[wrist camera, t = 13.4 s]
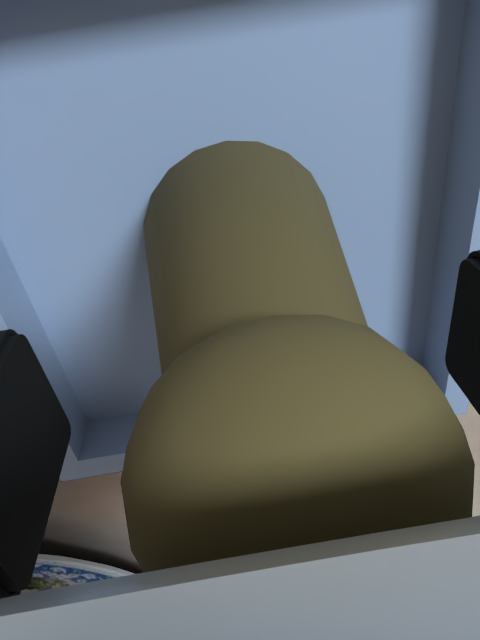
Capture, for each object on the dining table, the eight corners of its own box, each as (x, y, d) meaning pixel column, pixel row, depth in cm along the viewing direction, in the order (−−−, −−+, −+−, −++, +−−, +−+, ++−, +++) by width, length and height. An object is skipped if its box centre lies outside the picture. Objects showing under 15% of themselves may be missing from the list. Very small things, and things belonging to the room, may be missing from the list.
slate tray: (500, -132, 11) (590, -174, 9) (432, 364, 20) (466, 413, 18) (-146, -26, 11) (-242, -37, 9) (77, 424, 20) (61, 481, 18)
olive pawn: (364, 237, 15) (627, 568, 6) (232, 342, 17) (284, 712, 8) (244, 91, 12) (404, 302, 3) (102, 236, 14) (-43, 622, 5)
